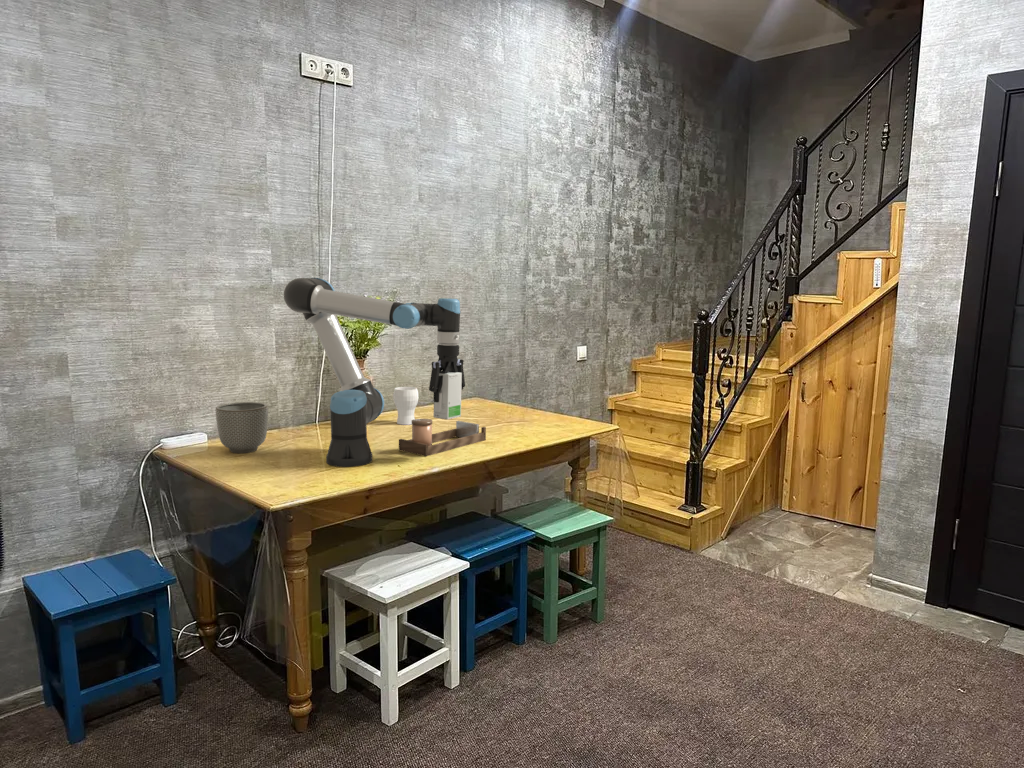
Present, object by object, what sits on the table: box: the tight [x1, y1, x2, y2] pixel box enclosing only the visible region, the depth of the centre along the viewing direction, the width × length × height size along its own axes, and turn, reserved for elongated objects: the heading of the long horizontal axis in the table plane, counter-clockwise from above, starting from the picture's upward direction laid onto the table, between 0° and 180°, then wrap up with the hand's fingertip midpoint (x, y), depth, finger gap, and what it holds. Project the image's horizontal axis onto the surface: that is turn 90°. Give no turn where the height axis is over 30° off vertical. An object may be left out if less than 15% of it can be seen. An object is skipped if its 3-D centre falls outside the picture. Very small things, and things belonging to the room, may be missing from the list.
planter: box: [215, 401, 269, 454], centre depth 249 cm, size 17×17×16 cm
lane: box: [398, 426, 487, 457], centre depth 263 cm, size 33×13×5 cm, turn 143°
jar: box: [411, 418, 433, 446], centre depth 253 cm, size 7×7×11 cm
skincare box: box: [432, 372, 462, 420], centre depth 243 cm, size 8×7×16 cm
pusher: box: [455, 420, 480, 438], centre depth 275 cm, size 5×10×6 cm, turn 53°
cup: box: [392, 386, 419, 426], centre depth 300 cm, size 11×11×15 cm
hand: (446, 409), depth 244 cm, fingers closed on skincare box, 8 cm apart
